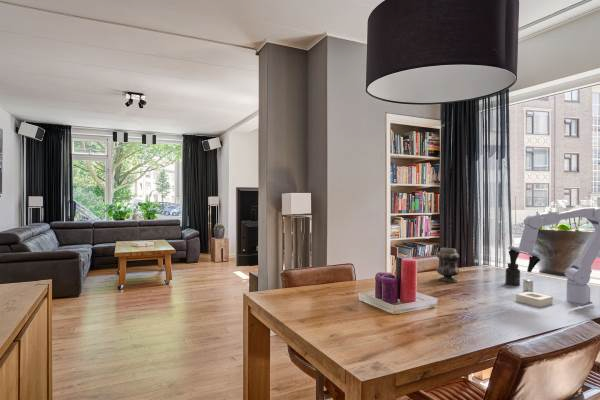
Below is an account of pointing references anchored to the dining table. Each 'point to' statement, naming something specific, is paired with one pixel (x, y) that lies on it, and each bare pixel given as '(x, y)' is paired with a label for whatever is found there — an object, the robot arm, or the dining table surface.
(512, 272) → the supplement bottle
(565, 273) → the robot arm
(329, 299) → the dining table surface
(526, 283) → the metal peg
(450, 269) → the apothecary jar
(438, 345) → the dining table surface
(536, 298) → the cream recessed block
